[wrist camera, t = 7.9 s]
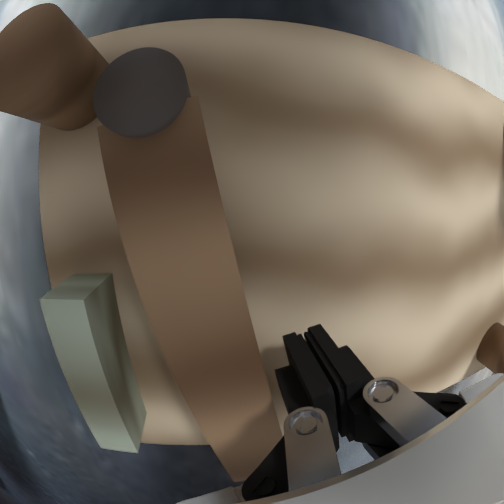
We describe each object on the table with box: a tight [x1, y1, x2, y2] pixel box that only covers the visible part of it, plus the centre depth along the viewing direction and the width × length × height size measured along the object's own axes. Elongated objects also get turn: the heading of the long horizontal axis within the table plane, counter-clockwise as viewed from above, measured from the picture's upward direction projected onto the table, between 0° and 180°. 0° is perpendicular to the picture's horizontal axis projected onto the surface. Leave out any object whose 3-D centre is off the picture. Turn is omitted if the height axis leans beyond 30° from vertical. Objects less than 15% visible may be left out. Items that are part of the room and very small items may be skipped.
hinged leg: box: [93, 47, 283, 482], centre depth 9 cm, size 18×3×4 cm, turn 13°
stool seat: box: [0, 3, 504, 453], centre depth 11 cm, size 22×32×7 cm
